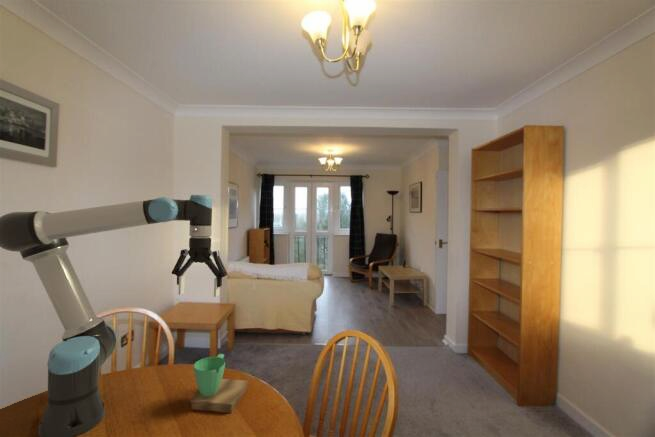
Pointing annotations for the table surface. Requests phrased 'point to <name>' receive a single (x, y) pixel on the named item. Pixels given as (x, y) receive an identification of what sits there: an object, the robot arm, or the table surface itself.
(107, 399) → the table surface
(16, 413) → the table surface
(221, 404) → the walnut board
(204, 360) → the mug
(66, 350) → the robot arm
